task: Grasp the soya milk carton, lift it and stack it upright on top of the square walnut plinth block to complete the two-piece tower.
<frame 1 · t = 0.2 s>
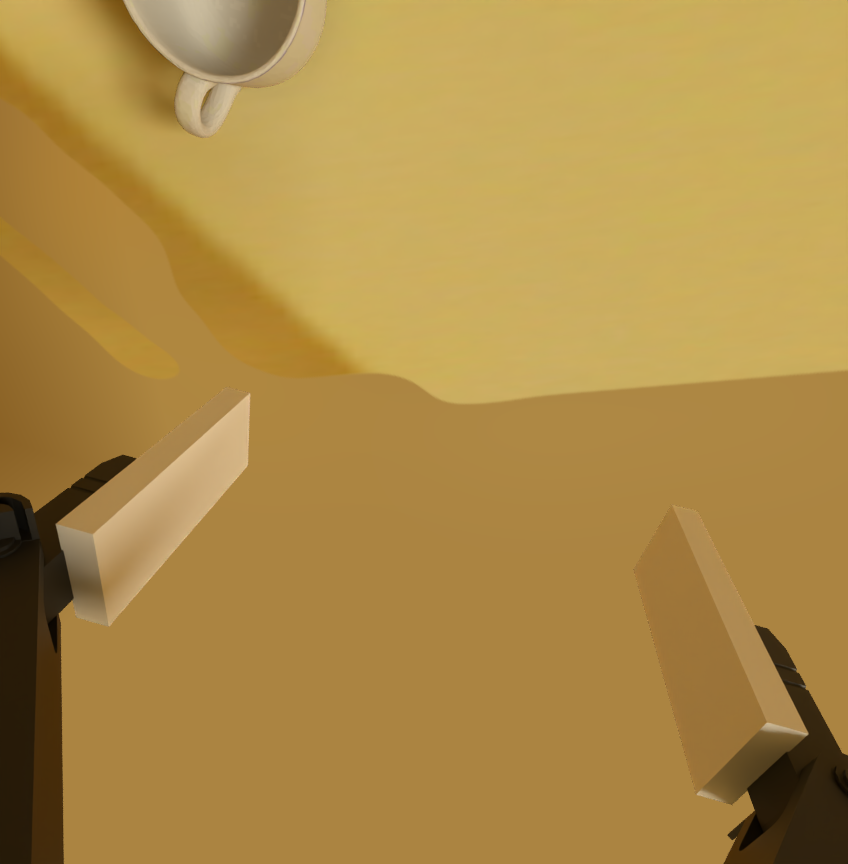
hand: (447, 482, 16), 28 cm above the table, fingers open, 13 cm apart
teacup: (258, 25, 34), on the table
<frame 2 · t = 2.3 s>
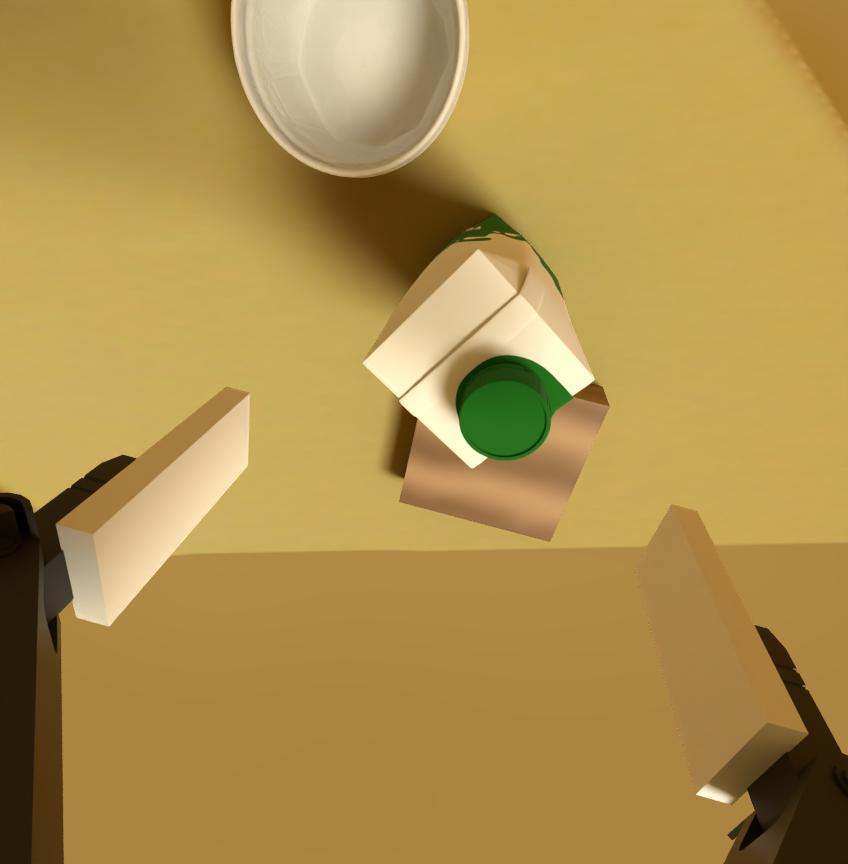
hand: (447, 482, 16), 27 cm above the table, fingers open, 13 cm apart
ramekin: (377, 61, 33), on the table
plinth: (496, 435, 45), on the table
soya milk: (491, 282, 39), on the table
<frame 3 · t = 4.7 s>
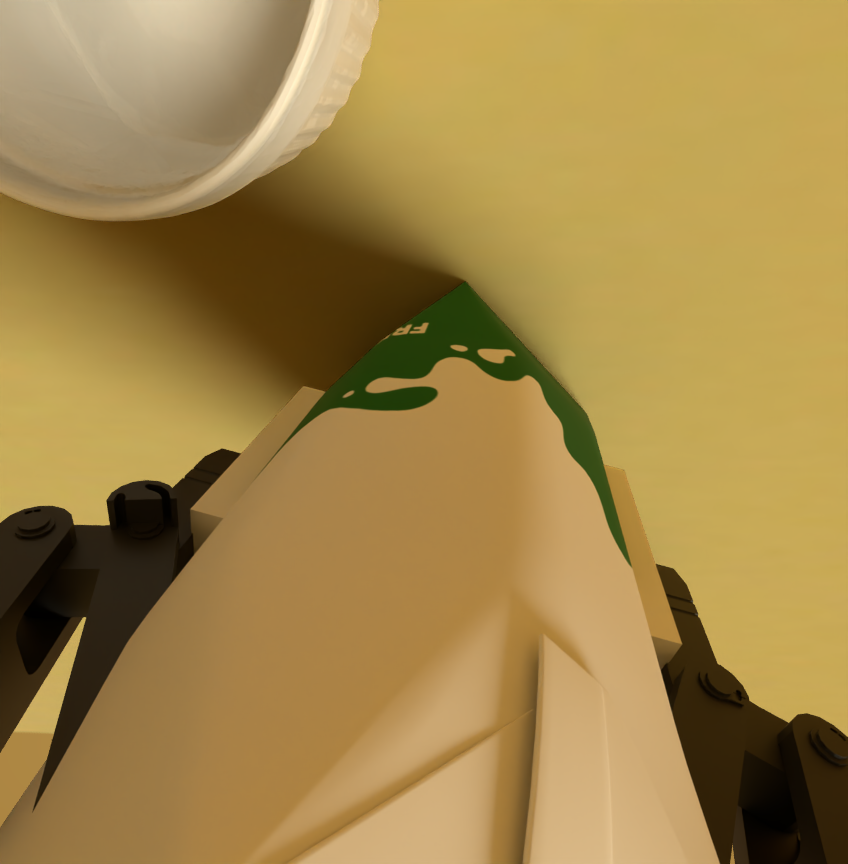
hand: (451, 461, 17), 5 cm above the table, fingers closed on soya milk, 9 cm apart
soya milk: (462, 400, 21), on the table, touching gripper
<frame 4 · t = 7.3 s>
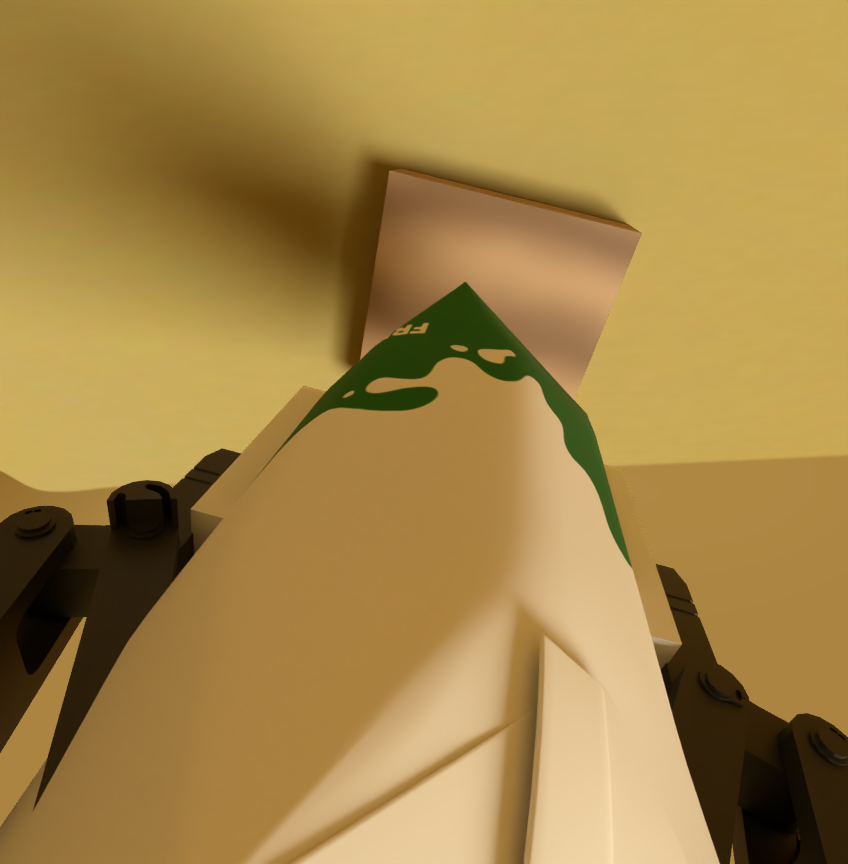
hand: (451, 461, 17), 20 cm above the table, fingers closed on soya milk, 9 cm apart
plinth: (484, 307, 34), on the table
soya milk: (462, 400, 21), point 15 cm above the table, touching gripper
when the fingers open (10 cm above the table, at t = 9.6 s): soya milk drops 2 cm, resting on plinth.
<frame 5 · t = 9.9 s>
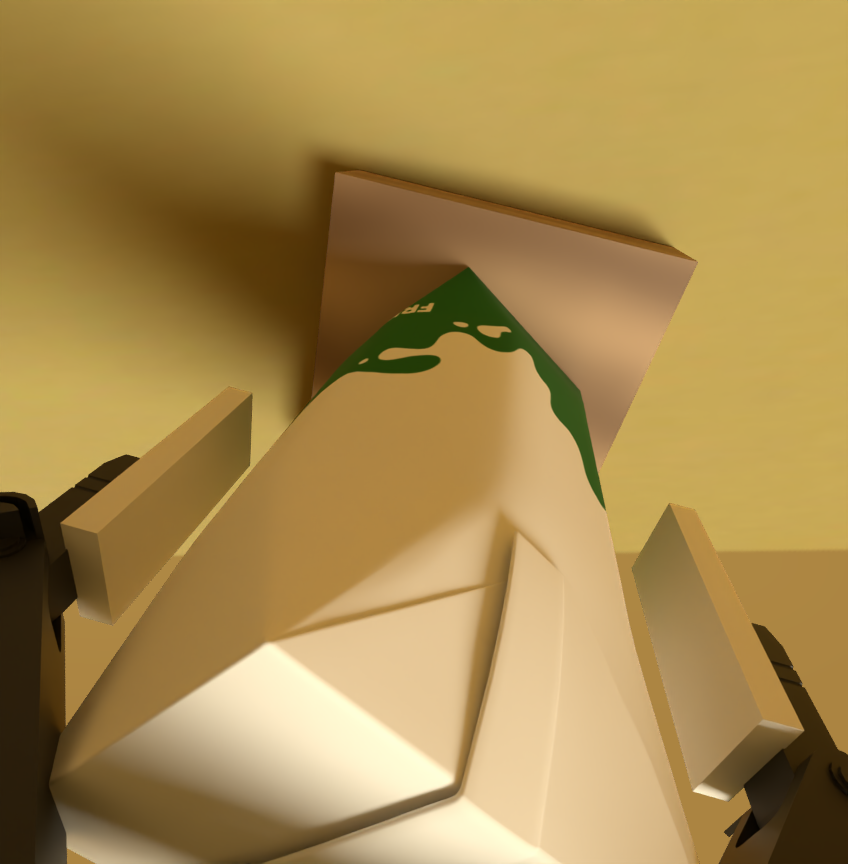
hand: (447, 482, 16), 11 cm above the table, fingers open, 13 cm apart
plinth: (474, 351, 26), on the table, touching soya milk
soya milk: (465, 377, 22), point 3 cm above the table, touching plinth
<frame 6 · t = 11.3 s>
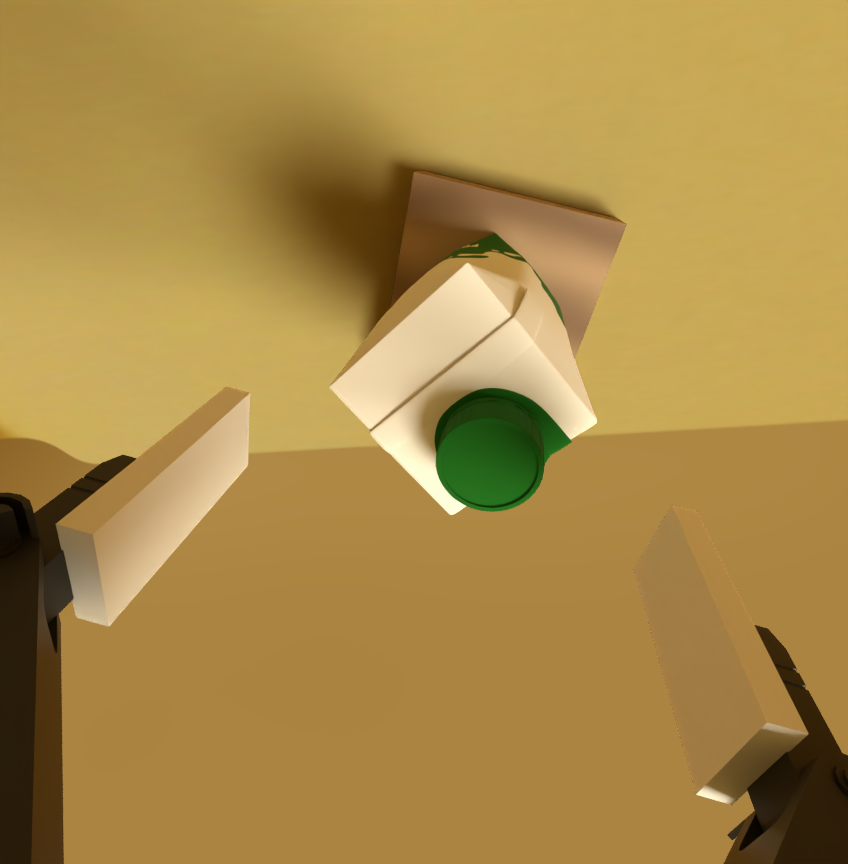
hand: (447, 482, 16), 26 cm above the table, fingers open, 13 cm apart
plinth: (492, 290, 39), on the table, touching soya milk
soya milk: (488, 305, 36), point 3 cm above the table, touching plinth
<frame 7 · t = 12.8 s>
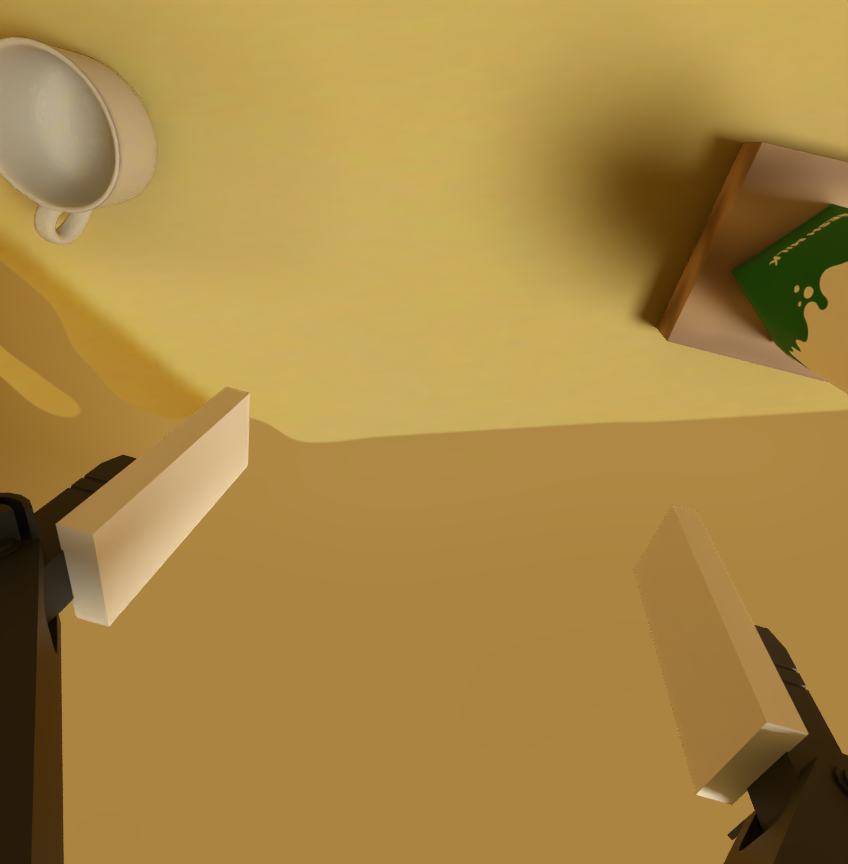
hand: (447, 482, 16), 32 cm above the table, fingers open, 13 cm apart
teacup: (113, 152, 44), on the table
plinth: (781, 264, 40), on the table, touching soya milk
soya milk: (800, 277, 36), point 3 cm above the table, touching plinth
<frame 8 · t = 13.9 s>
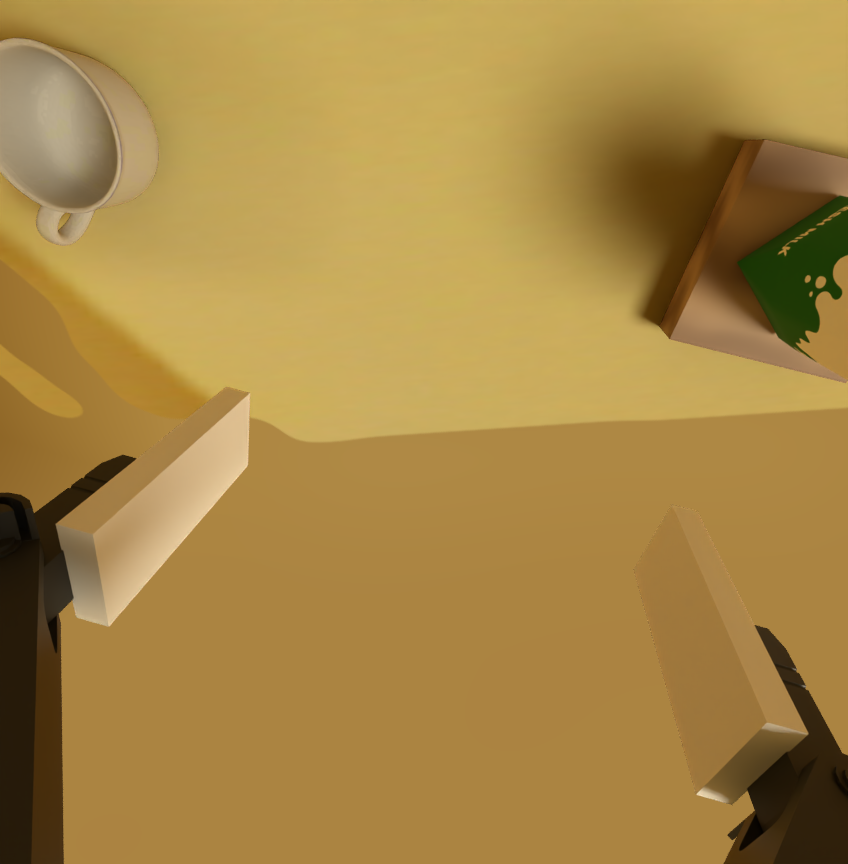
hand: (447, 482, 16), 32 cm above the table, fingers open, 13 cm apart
teacup: (115, 153, 44), on the table
plinth: (783, 261, 40), on the table
soya milk: (804, 269, 36), point 3 cm above the table
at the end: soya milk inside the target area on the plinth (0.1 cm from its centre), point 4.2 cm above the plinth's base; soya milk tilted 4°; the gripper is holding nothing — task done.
